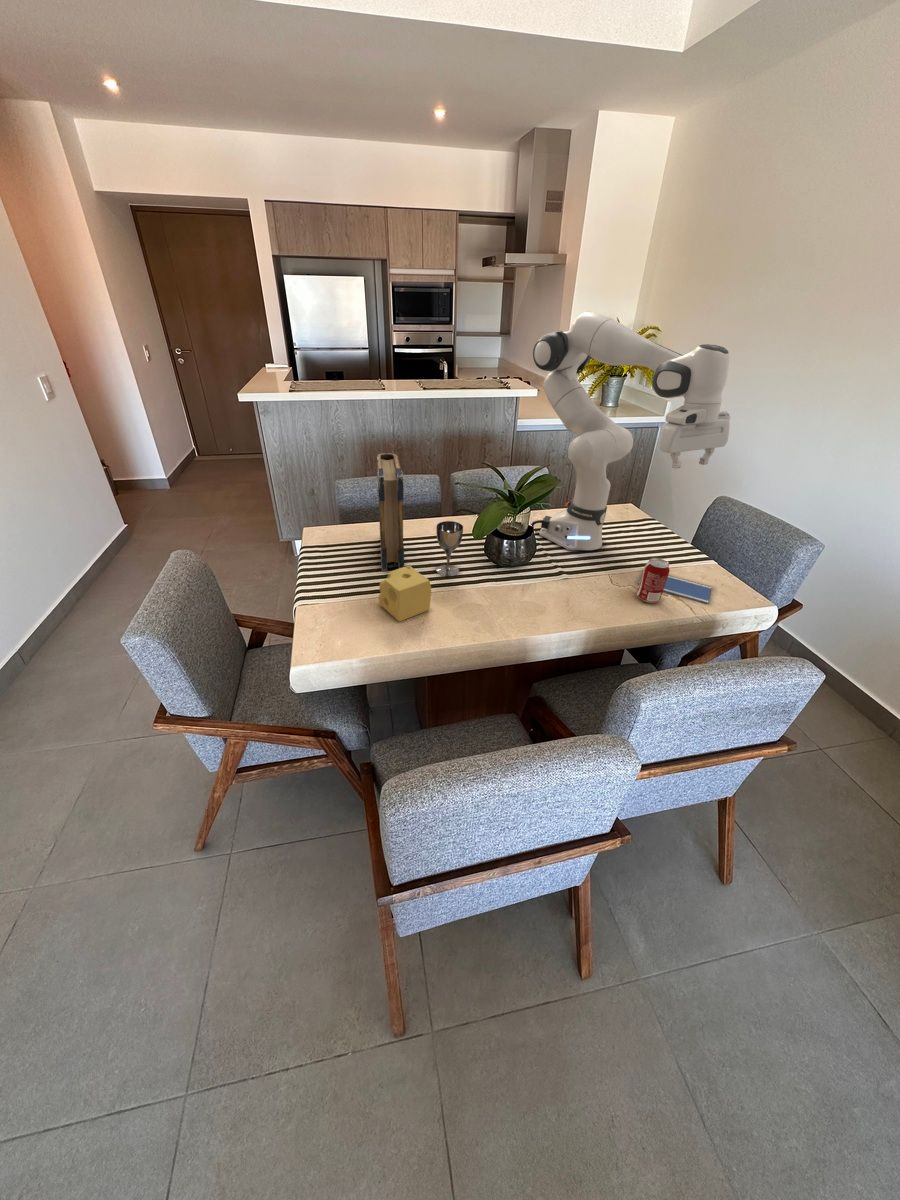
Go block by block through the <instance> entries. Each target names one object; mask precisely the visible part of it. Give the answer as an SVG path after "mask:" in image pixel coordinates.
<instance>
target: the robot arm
mask: <svg viewBox="0 0 900 1200" xmlns="http://www.w3.org/2000/svg"><path fill="white" fill-rule="evenodd" d="M533 345H534V346H533V349H532V359H533V362H534V364H535V366H536V367H537V368H538V369H540V370H541V371H545V372H549V373H548V374H547V375H546V377H544V380H543V385H542V386H543V391H544V394H545V396H546V398H547V400H548V402H549V404H550V406H551V408H552V409H553V410H554V412H555V414H556V415H557V417H558V418H559V419H560V421H561V422H562V424H563V425H564V427H565V429H566V430H567V431H568V432H571V433H573V434H574V435H577V436H576V437H575V438H573V439H572V441H571V442H570V443H569V446H568V449H567V455H568V460H569V461H570V463H571V464H572V466H574V469H575V475H576V476H575V477H576V481H575V488H574V495H573V498H572V499H571V500H569V501H568V502H566V503H565V506H564V507H565V508H566V509H564V510H562V511H560V512H558V513H556V514H554V515H553V516H550V515H545V516H544V517H543V519H539V520H534V521H533V522H532V523H531V524H530V526H531V525H532V526H533V527H535V525H537V524H541V525H540V528H541V529H540V530H539V532H538V534H539V536H541V537H542V538H544V539H546V540H548V541H550V542H552V543H554V544H556V545H558V546H560V547H562V548H564V549H566V550H568V551H577V550H578V551H595V550H596V551H597V550H599V549H600V548H602V547H603V527H604V526H603V525H604V523H605V519H606V516H607V510H608V506H607V504H608V499H609V495H610V492H611V491H610V490H611V488H612V487H611V482H610V480H609V479H608V478H607V467H608V464H610V463H615V462H618V461H621V459H624V458H625V457H626V456H627V455H628V454H630V453H631V451H632V449H633V447H634V437H633V434H632V432H631V431H630V430H628V429H627V428H626V427H623V426H620V425H619V424H617V423H616V422H615V421H614V420H612V419H611V418H610V417H609V416H608V415H606V414H605V413H604V412H603V411H602V410H601V409H600V408H599V407H598V406H597V404H595V402H594V401H593V400H592V397H590V395H589V393H588V392H587V391H586V389H585V388H584V386H583V385H582V384H581V382H580V381H579V379H578V377H577V375H578V374H581V373H582V372H583V371H584V370H585V367H586V365H587V364H588V363H589V362H590V361H591V358H592V359H594V360H595V361H597V362H599V363H601V364H605V365H608V366H612V367H613V366H615V367H617V366H619V367H620V366H621V367H622V366H639V367H644V368H648V369H650V370H652V371H653V372H654V373H653V375H652V389H653V391H654V393H655V394H656V395H657V396H658V397H660V398H664V399H675V398H681V397H683V398H684V400H683V401H684V402H683V405H680V406H679V407H678V408H676V409H673V410H672V411H670V412H668V413H666V415H665V419H664V420H665V422H667V423H665V425H664V426H663V429H662V432H661V437H660V440H659V441H660V442H659V449H660V451H661V452H662V453H666V454H670V455H669V456H670V460H671V461H672V463H671V468H672V469H675V470H677V469H680V468H681V465H682V461H680V459H679V457H680V456H681V453H685V452H692V451H693V452H694V451H700V450H701V451H702V450H704V453H703V455H702V456H700V457H699V461H698V464H699V465H702V466H703V465H708V464H709V461H710V458H711V456H713V454H714V452H715V449H716V448H723V447H725V446H726V445H727V444H728V441H729V435H730V427H731V426H730V425H731V423H730V419H731V415H730V413H729V412H728V411H726V410H723V411H720V410H721V406H722V402H723V400H722V395H723V390H724V388H725V386H726V382H727V379H728V373H729V365H730V351H729V350H728V349H727V348H726V347H724V346H720V345H717V344H708V343H707V344H706V343H705V344H700V345H698V346H696V347H695V348H694V349H693V350H691V351H689V352H687V353H685V354H681V353H679V352H676V351H674V350H672V349H670V348H667V347H665V346H663V345H661V344H659V343H657V342H654V341H652V340H650V339H648V338H646V336H643V335H641V334H639V333H638V332H636V331H635V330H632V329H631V328H630V327H628V326H626V325H624V324H623V323H621V322H619V321H617V320H615V319H614V318H612V317H609V316H607V315H604V314H601V313H597V312H592V311H585V312H582V313H580V314H579V315H578V316H577V317H576V318H575V319H574V320H573V322H572V325H571V327H570V329H569V330H557V331H553V332H549V333H546V334H544V335H541V336H540V337H539V338H538V339H537V340H536V341H535V343H534V344H533ZM463 511H464V512H468V513H470V514H475V515H479V514H480V513H482V512H480V511H476V510H472V509H469V508H464V507H461V508H458V509H456V510H455V513H459V512H463Z"/></svg>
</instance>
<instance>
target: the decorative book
mask: <svg viewBox="0 0 900 1200" xmlns="http://www.w3.org/2000/svg"><path fill="white" fill-rule="evenodd" d="M376 474H377V475H376V477H377V494H378V495H377V496H378V497H377V498H378V517H379V541H380V550H379V551H380V567H381V571H382V572H384V571H385V572H386V571H388V564H389V563H393V562H394V564H396V563H397V565H398V569H399V568H403V567H405V547H404V546H405V545H404V499H405V498H404V497H405V496H404V472H403V469H402V467H401V465H400V461H399V456H398V455H397V454H396V453H390V452H389V453H388V452H387V453H386V452H384V453H383V452H382V453H377V455H376Z"/></svg>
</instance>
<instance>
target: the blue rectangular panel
mask: <svg viewBox="0 0 900 1200" xmlns="http://www.w3.org/2000/svg"><path fill="white" fill-rule="evenodd" d="M640 580H641V578H640V579H639V581H638V586H639V584H640ZM711 590H712V586H710V585H706V584H703V583H699V582H695V581H691V580H688V579H684V578H680V577H678V576H677V577H676V576H673V575H670V574H669V575H668V578H667V581H666V584H665V587H664V590H663V593H667V594H671V595H674V596H677V597H680V598H685V599H688V600H692V601H695V602H699V603H702V604H706V605H708V604H709V600H710V595H711V592H712V591H711Z"/></svg>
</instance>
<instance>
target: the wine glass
mask: <svg viewBox="0 0 900 1200" xmlns="http://www.w3.org/2000/svg"><path fill="white" fill-rule="evenodd" d="M435 527H436V529H435V531H436V532H435V535H436V540H437V543H438V545H439V547H440V548H441V549H442V551H444V553H445V555H446V564H443V565H440V566H438V567H437V568H436V573H437V574H438V575H440V576H442V577H454V576H456V575H458V574H459V573H460V569H459V568H458V567H457V566H455V565H452V564H450V561H451V556H452V554H453V552H454V551H455V550H456V549H457V548H459V547H460V545H461V543H462V540H463V534H464V525H462V524H461V523H460V522H457V521H453V520H445V521H441V522H438V523H437V524H436V526H435Z"/></svg>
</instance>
